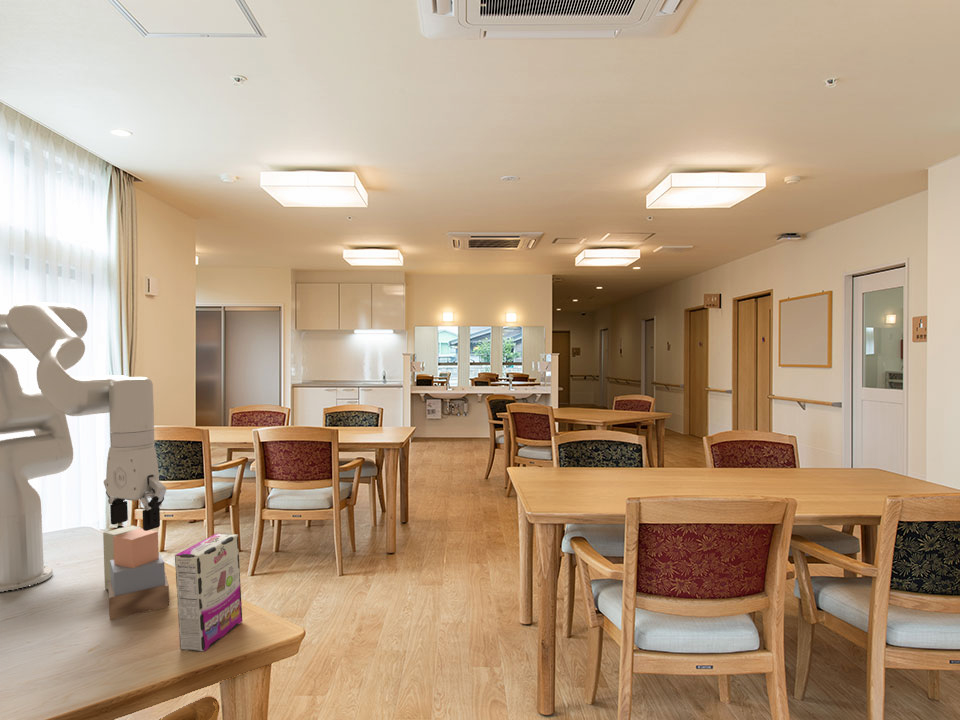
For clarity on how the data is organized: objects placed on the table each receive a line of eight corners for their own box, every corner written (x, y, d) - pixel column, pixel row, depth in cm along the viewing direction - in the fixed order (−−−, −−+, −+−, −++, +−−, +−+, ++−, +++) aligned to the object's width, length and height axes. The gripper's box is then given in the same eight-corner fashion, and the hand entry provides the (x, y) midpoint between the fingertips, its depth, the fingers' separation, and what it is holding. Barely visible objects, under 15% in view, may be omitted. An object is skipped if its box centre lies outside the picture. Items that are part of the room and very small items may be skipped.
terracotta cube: (114, 564, 117) (113, 536, 117) (140, 554, 122) (139, 528, 122) (132, 568, 114) (131, 539, 114) (158, 558, 119) (157, 531, 119)
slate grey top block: (114, 596, 113) (113, 572, 112) (110, 582, 119) (109, 560, 119) (165, 584, 118) (164, 562, 117) (158, 572, 124) (157, 550, 124)
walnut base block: (109, 621, 112) (108, 598, 112) (109, 603, 120) (108, 581, 120) (169, 608, 117) (168, 585, 117) (165, 591, 126) (164, 569, 126)
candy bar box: (219, 620, 111) (215, 532, 110) (243, 622, 110) (240, 533, 109) (176, 651, 100) (173, 553, 99) (203, 653, 99) (199, 555, 98)
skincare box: (114, 593, 124) (112, 535, 124) (103, 589, 127) (101, 532, 126) (145, 582, 130) (143, 527, 129) (134, 578, 132) (132, 524, 132)
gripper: (86, 439, 118) (88, 525, 118) (143, 445, 110) (146, 537, 111) (123, 434, 125) (125, 515, 125) (179, 439, 117) (182, 525, 118)
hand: (135, 525), depth 118 cm, fingers open, 9 cm apart
